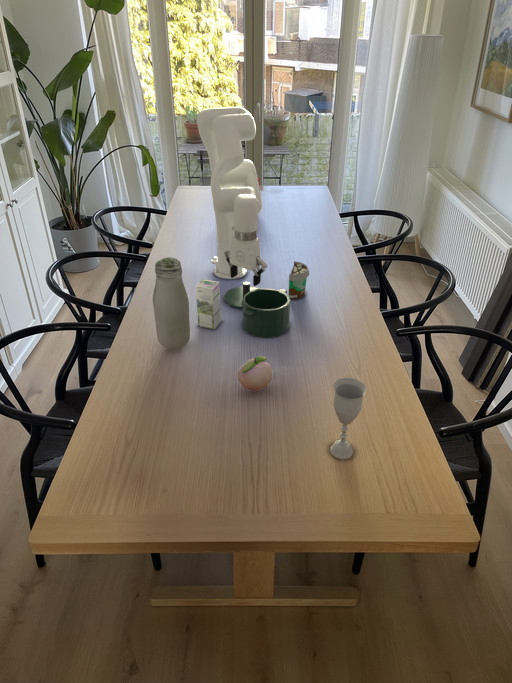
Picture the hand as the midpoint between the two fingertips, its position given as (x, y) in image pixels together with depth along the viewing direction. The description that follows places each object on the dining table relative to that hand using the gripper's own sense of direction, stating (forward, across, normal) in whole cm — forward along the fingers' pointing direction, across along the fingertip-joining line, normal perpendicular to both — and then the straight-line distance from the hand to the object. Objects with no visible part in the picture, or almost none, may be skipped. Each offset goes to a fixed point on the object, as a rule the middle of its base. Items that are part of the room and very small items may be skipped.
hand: (245, 280), depth 177 cm
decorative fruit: (+4, +34, -41) cm, 53 cm away
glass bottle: (+6, +2, -38) cm, 38 cm away
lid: (+6, +1, -1) cm, 6 cm away
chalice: (+3, +63, -48) cm, 79 cm away
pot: (+6, +17, -12) cm, 22 cm away
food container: (+7, +14, +13) cm, 20 cm away
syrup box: (+6, +2, -22) cm, 23 cm away
